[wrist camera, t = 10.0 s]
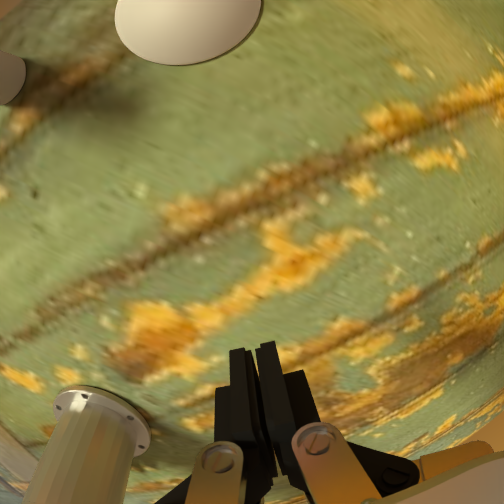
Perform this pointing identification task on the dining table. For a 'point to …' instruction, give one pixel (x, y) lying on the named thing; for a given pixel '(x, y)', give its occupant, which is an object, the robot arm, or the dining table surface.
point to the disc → (184, 28)
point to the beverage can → (10, 76)
